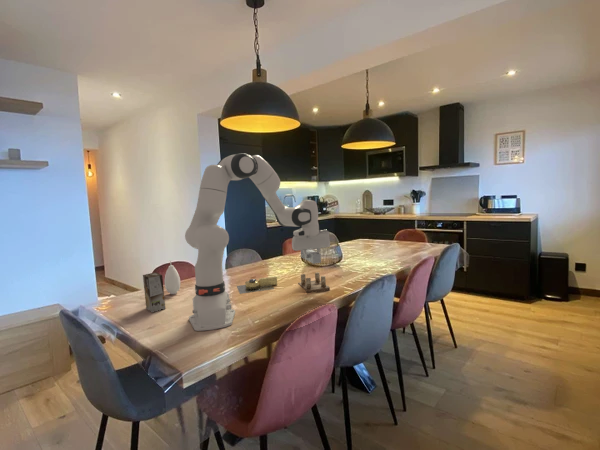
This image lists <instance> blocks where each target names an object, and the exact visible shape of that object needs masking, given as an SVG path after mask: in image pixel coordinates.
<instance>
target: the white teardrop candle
mask: <svg viewBox="0 0 600 450" xmlns="http://www.w3.org/2000/svg"><path fill="white" fill-rule="evenodd" d="M164 287H165V290H166V292H167V293H169V294H170V295H176V294H177V293H178V292H179V291H180V288H181V278H180V273H178V270H177V269H176V267H175V266H174V265H172V261H171V260H170V265H168V268H167V269H166V271H165V276H164Z"/></svg>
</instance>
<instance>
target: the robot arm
mask: <svg viewBox="0 0 600 450" xmlns="http://www.w3.org/2000/svg"><path fill="white" fill-rule="evenodd" d="M203 171H204V172H203V174H202V178H201V180H200V184H199V185H200V186H199V191H198V196H197V203H196V208H195V211H194V214H193V216H192V219H191V222H190V224H189V226H188V228H187V229H186V230H185V234H184V239H185V242H186V243H187V244H188V245H189V246H191V247H192V248H194V249H196V250H197V251H198V252H197V260H196V262H195V265H194V275H195V284H194V290H195V292H194V293H195V296H194V297H193V298H192V315H190V316H188V320H189V322H190V324H191V326H192V328H193V330H194V331H196V332H197V331H199V332H200V331H201V332H203V331H212V330H217V329H222V328H226V327H229V326H231V325H232V324H233V323H234V322H233V321H234V318H235V315H236V309H235V308H234V309H232V303H231V298H230V294H229V292H227V291H226V284H225V283H226V282H225V281H224V272H223V260H224V253H225V249H226V247H227V246H228V244H229V241H230V236H229V235H230V234H229V233H228V231H227V229H226V228H224V227H223V226H220V225H219V224H218V223H219V219H220V218H221V217H222V215H223V214H224V212H225V207H226V202H227V201H226V200H227V194H228V186H229V184H230V182H231V181H241V180H243V179H248V178H249V180H251V181H252V183H254V185H255V187H256V188H257V189H258V190H259V191H260V193H261V195H262V198H263V199H264V201H265V202H266V203H267V205H268V206H269V208H270V210H272V213H273V214H274V216H275V220H276V221H277V223H278V224H279V226H281V227H300V228H299V229H295V230H293V232H292V233H293V234H292V235H293V237H292V239H291V249H292V250H293V251H296V252H297V251H301V250H303V253H304V254H305V258H309V255H308V254H306V250H307V249H311V250H316V252H317V253H320V252H321V249H324V248H325V249H327V248H329V247H330V246H331V240H330V231H329V230H327V229H320V225H319V209H318V208H319V207H318V205H317V202H316V201H315V200H313V199H303V200H301V202H300V203H299V204H297V205H295V206H294V207H288V206H286V205H285V204H283V202H282V201H281V199H280V198H279V196H278V195H277V191H278V190H279V189H280V187H281V179H280V177H279V174H278V173H277V172H276V171H275V170H274V168H273V167H272V166H271V165H270V163H269V162H268V161H266V160H265V159H264V158H263V157H262V156H260V155H259V154H254V155H250V154H248V153H242V152H240V153H235V154H231V155H228V156H226V157H223V158H221V160H219V162H217V164H210V165H208V166H206V168H205V169H204V170H203Z"/></svg>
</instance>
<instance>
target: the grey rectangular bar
mask: <svg viewBox="0 0 600 450" xmlns="http://www.w3.org/2000/svg"><path fill="white" fill-rule="evenodd" d="M306 254H308V255H309V258H305V254H304V253H303V250H300V257H301V259H304V260H306V261H308V262H310V263H311V264H313V265H314V264H320V263H322V257H321V256H322V255H321V253H320V252H319V253H317V251H315V250H314V249H307V250H306Z"/></svg>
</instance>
